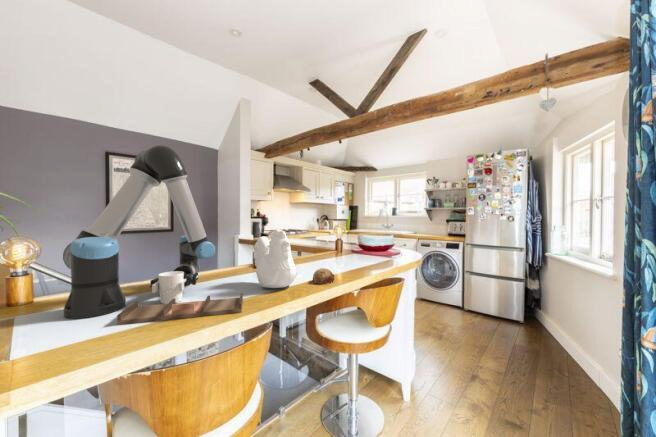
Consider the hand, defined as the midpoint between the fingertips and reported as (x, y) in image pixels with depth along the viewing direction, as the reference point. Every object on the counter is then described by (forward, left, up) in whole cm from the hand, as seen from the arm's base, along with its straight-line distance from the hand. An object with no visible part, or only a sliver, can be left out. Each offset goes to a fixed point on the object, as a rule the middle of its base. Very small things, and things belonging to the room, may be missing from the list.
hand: (167, 287), depth 90 cm
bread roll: (+60, +16, -6) cm, 62 cm away
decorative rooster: (+37, +17, -6) cm, 41 cm away
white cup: (0, +5, -6) cm, 8 cm away
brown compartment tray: (+8, -8, -6) cm, 13 cm away
